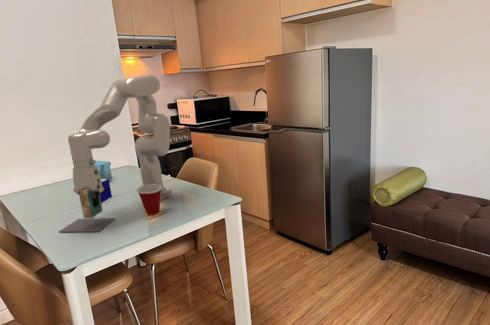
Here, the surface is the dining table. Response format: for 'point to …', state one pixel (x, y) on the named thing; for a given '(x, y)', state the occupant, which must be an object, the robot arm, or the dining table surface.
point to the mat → (87, 225)
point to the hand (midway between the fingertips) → (92, 205)
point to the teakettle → (104, 169)
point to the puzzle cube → (107, 192)
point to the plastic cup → (150, 198)
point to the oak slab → (89, 203)
